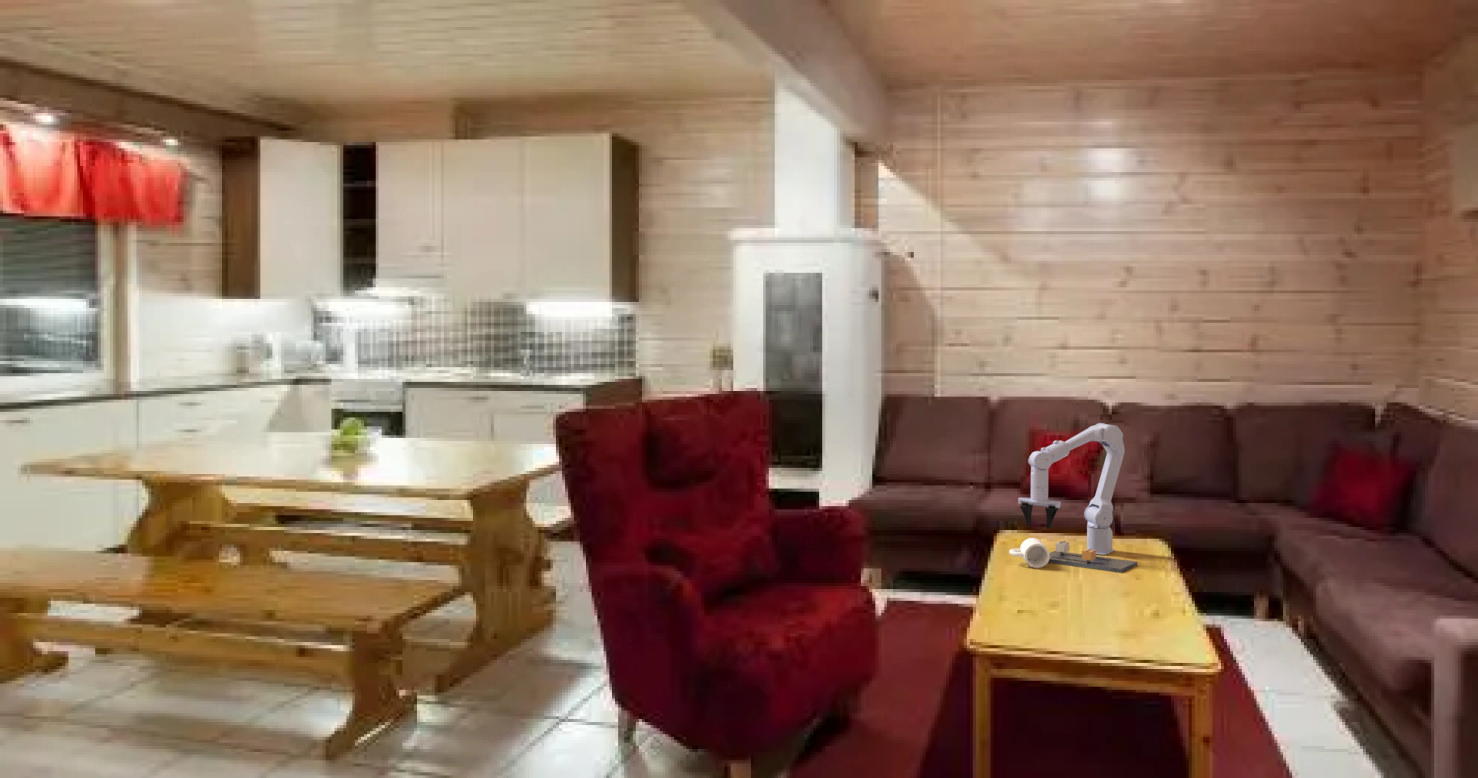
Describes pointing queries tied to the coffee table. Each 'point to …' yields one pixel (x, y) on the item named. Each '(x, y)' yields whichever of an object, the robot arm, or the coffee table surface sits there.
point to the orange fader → (1088, 554)
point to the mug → (1032, 553)
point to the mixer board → (1091, 562)
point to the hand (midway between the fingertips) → (1038, 526)
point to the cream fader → (1062, 546)
